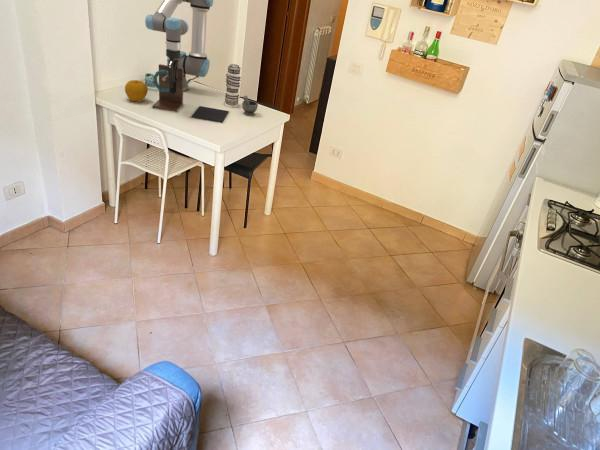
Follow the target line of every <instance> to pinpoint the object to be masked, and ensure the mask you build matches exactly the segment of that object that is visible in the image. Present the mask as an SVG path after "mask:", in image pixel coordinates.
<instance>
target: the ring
mask: <svg viewBox="0 0 600 450" xmlns="http://www.w3.org/2000/svg"><path fill="white" fill-rule="evenodd" d="M162 73H163V74H167V75H168V71H165V70H160V71H159V70H157V71H156V72H155V74H154V75H153V78H152V79H153V85H154V86H155V87H156V89H158V91H159V90H160V91H162V92H169V91H170V88H167V89H164V88H161V87H160V86H159V82H158V78H159V74H162Z"/></svg>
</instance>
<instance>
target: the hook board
mask: <svg viewBox="0 0 600 450" xmlns="http://www.w3.org/2000/svg"><path fill="white" fill-rule="evenodd" d="M160 70H165V71H168V66H167V64H162V63H159V64H158V71H160ZM177 79H178V81H177V80H176V92H175V94H174V93H170V91H169V92H162V91H160V90H159V89H158V100H157V101H155V103H153V104H152V109H157V110H163V111H169V112H173V113H177V112H178V111H179V110H180V109H182V107H183V106H184V91H183V68H179V67H178V78H177ZM168 80H169V77H168V75H167V74H163V73H162V74H159V75H158V85H159V86H160V87H161V88H164V89H167V88H170V81H168Z"/></svg>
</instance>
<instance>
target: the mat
mask: <svg viewBox="0 0 600 450" xmlns="http://www.w3.org/2000/svg"><path fill="white" fill-rule="evenodd" d="M228 114H229V110H227V109H219V108H213V107H208V106H202V105H199V106H198V107H197V109H195V111H194V112H193V114H191V116H190V118H191V119H197V120H203V121H208V122H214V123H223V122H224V121H225V119H226V118H227V116H228Z"/></svg>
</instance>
